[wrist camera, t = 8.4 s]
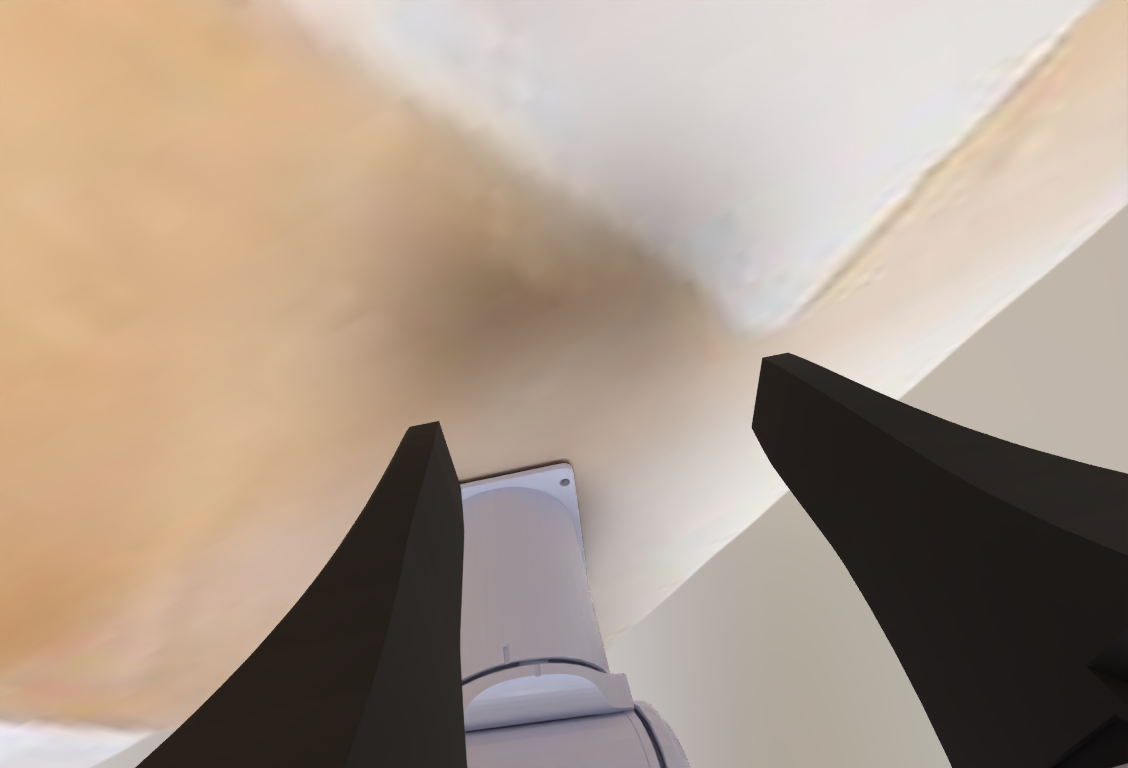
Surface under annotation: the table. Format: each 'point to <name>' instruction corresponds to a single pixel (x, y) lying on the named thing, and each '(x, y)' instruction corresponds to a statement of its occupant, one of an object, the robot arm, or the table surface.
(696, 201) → the table surface
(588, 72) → the table surface
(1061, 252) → the table surface
